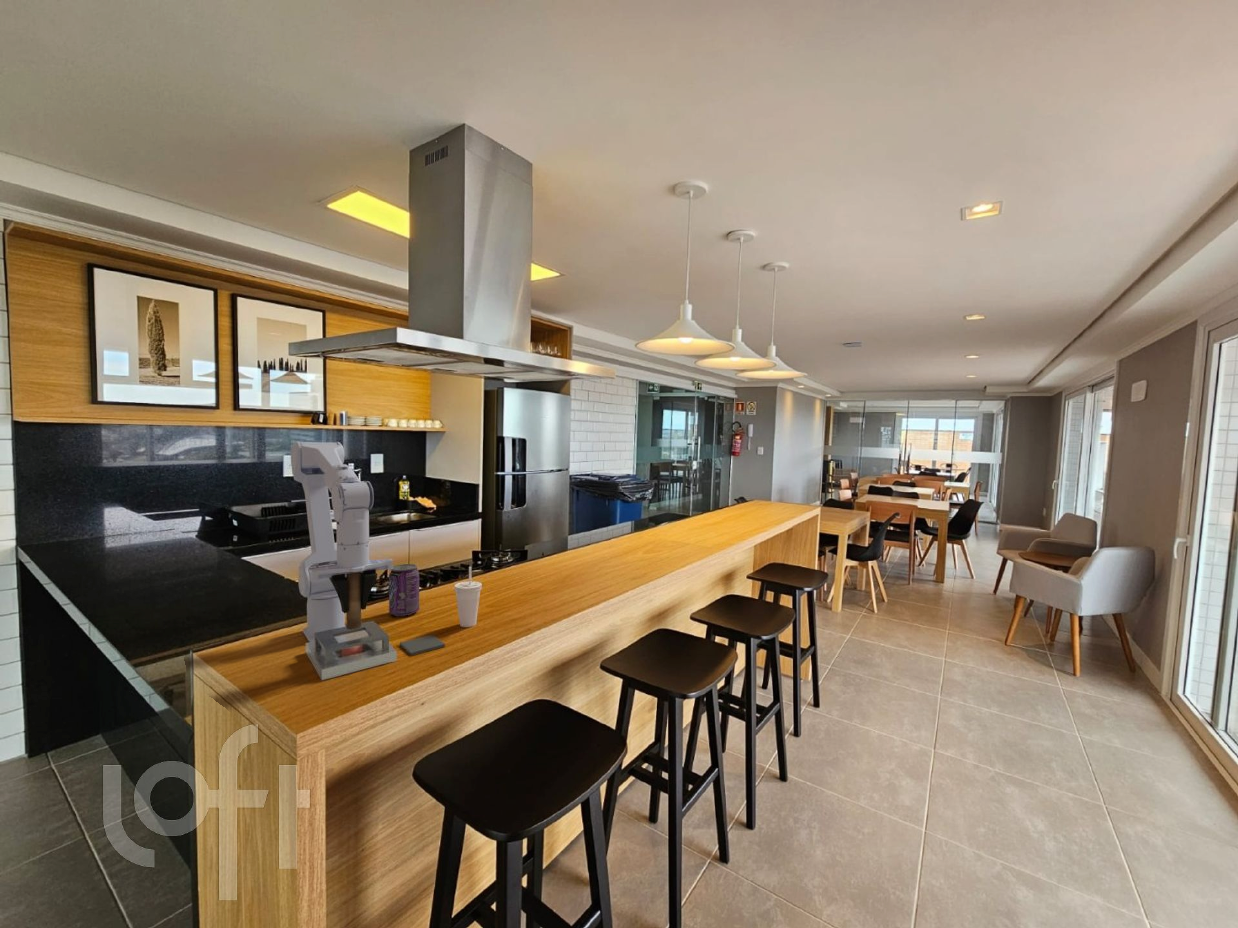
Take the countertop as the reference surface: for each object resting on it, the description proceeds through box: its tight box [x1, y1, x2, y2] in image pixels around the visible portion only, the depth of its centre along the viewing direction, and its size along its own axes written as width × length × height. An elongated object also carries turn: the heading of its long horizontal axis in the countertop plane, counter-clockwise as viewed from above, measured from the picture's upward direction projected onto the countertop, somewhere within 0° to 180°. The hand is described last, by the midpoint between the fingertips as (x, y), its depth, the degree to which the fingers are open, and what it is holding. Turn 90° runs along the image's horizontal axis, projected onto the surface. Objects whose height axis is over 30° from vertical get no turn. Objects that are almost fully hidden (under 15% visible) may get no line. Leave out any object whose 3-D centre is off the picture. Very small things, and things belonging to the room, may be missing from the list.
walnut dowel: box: [345, 572, 362, 629], centre depth 99 cm, size 3×3×11 cm
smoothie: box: [453, 566, 483, 628], centre depth 119 cm, size 6×6×14 cm
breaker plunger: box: [341, 645, 363, 658], centre depth 99 cm, size 4×4×2 cm
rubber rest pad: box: [399, 634, 446, 657], centre depth 106 cm, size 7×7×1 cm
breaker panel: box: [305, 620, 398, 681], centre depth 100 cm, size 16×13×5 cm
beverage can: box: [388, 563, 420, 617], centre depth 126 cm, size 7×7×12 cm
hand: (353, 609), depth 99 cm, fingers closed on walnut dowel, 3 cm apart
